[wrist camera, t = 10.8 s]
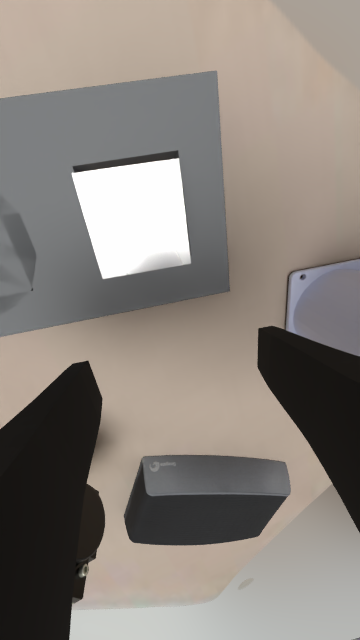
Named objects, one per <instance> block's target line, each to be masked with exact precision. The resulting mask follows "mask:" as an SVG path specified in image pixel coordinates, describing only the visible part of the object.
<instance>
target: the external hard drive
mask: <svg viewBox="0 0 360 640" xmlns="http://www.w3.org/2000/svg"><path fill="white" fill-rule="evenodd" d="M290 492H291V488H290V480H289V474H288V470H287V466H286V463H285V462H280V461H273V460H266V459H257V458H246V457H232V456H209V455H164V456H145V457H143V458H142V460H141V463H140V467H139V470H138V473H137V476H136V479H135V482H134V485H133V489H132V492H131V495H130V498H129V502H128V505H127V508H126V511H125V514H124V519H125V525H126V529H127V533H128V536H129V539H130V540H131V541H132V542H134V543H141V544H152V545H205V544H216V543H224V542H232V541H238V540H244V539H248V538H253V537H257V536H259V535H260V533H261V532H262V530H263V529H264V528H265V526H266V525H267V523H268V522H269V520H270V519H271V518H272V516H273V515H274V514H275V513H276V511H277V510H278V509H279V507H280V506H281V504H282V503H283V502H284V501H285V499H286V498H287V497H288V496H289V495H290Z"/></svg>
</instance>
